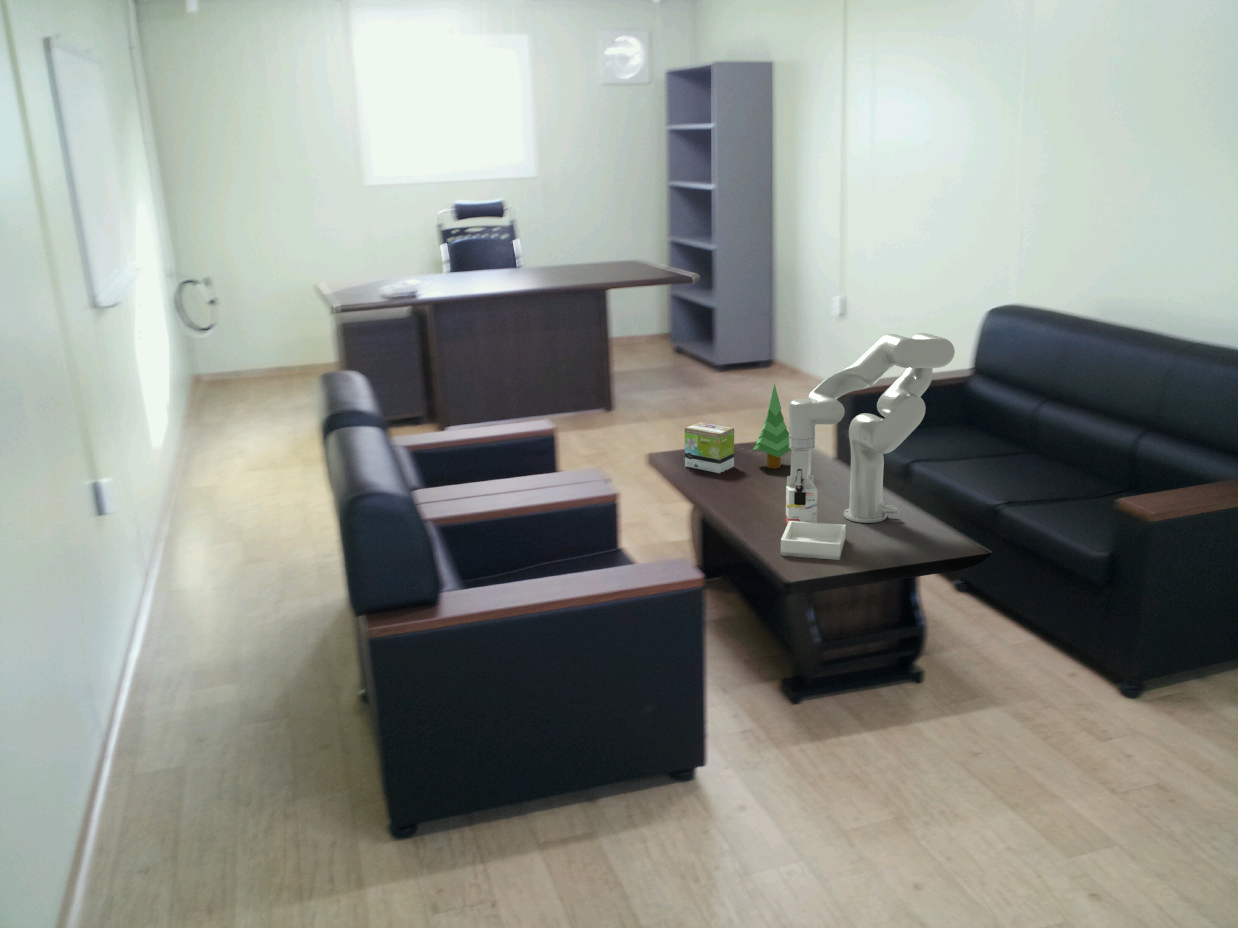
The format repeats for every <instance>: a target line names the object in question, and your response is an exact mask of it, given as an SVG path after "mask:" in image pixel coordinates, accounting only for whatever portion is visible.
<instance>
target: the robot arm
mask: <svg viewBox="0 0 1238 928" xmlns="http://www.w3.org/2000/svg"><path fill="white" fill-rule="evenodd" d="M955 353H956V351H955V346H954V345H953V342H951V341H950V340H949V339H948V338H945V337H942V336H938V335H933V334H929V333H927V332H926V333H925V332H917V333H915V334H913V335H911V337H906V336H903V335H900V334H899V335H898V334H894V333H887V334H884V335H882V336H881V337H880V338H879V339H877V341H875V343H873V344H872V345H871V346H870V347H869V348H868V349H867V350H866V351H865V352H864V353H863V354H862V355H861V356H860V357H859V358H858V359H857V360H855V361H854V362H853V363H852V364H851V365H849V366H848V367H846V368H843V369H842V370H840V371H838V372H835V373H834V374H832V375H830V376H828V377H827V378H825V379H824V380H823V381H820V383H819V384H818V385H817V386H816V387H815V388H814V389H813V390H811V392H810V393H809V394H808V395H807V397H806V398H798V399H793V400H791V401H790V402H789V404H788V432H789V448H790V449H792V450H791V455H790V475H789V476H790V481H791V482H793V481H794V480H795V492H794V504H795V505H805V504H806V492H805V483H806V482H807V481H808V479H809V476H810V475H811V470H812V468H811V467H812V450H813V449H815V448H816V425H825V426H828V425H829V426H830V425H836V424H838V423H839V422H841V421H842V420H843V418H844V416H845V412H846V410H845V407H844V405H843V404H842V402H840V401H839V400H837V399H839V398H840V397H842V396H843V395H847V394H848V393H851V392H855V391H860V390H866V389H869V388H871V387H873V386H874V385H875V384H876V383H877V382H878V381H879V380H880V379H881V378H882V377H884V376H885V374H887V372H888V371H890V370H891V369H892V368H893V367H894V366H896V367H899V368H903V369H904V370H903V372H902V373H901V374H900V375H899V376H898V377H897V379H895V381H894V382H893V383H892V384H891V385H889V387H888V388H887V389H886V390H885V391H884V392H883V393H882V394H881V395H880V397H879V398H878V401H877V402H876V408H877V412H878V413H879V414H880V415H881V416H883V417H884V418H882V417H879V416H877V415H876V414H873V413H868V412H866V413H865V412H864V413H859V414H858V415H856V416H855V417H854V418H853V419H852V420H851V421H850V424H849V427H848V438H849V445H850V473H849V475H850V476H849V477H850V479H849V480H850V481H849V504H848V505H849V506H848V508H846V509H844V510H843V516H844V518H846V520H849V521H852V522H856V523H864V524H873V523H880V522H883V521H885V520H886V519H887V518H888V517H887V516H888V514H891V515H897V514H898V507H894V505H890V504H889V505H886V504H884V500H883V489H884V488H883V486H884V466H885V465H884V464H885V460H884V454H885V455H886V454H889V453H891V452H893V451H894V450H896V449H897V448H898V447H899V446H900V445H901V444H902V443H903V442H904V441H905V440H906V439H907V438H908V437H909V436H910V435H911V434H912V433H913V432H914V431H915V430H916V429H917V427H918V426H919V425H920V424H921V422H922V421H923V419H924V417H925V414H926V410H927V409H926V404H925V401H924V400H923V398H922V396H923V394H924V393H925V392H926V391H927V389H929V387H930V385H931V383H932V378H933V372H934V371H933V370H934V369H938V368H943V367H946V366H948V365H949V364H950V363H951V362H952V361H953V359H954V357H955ZM803 481H804V482H803ZM801 484H803V486H802V485H801Z"/></svg>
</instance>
